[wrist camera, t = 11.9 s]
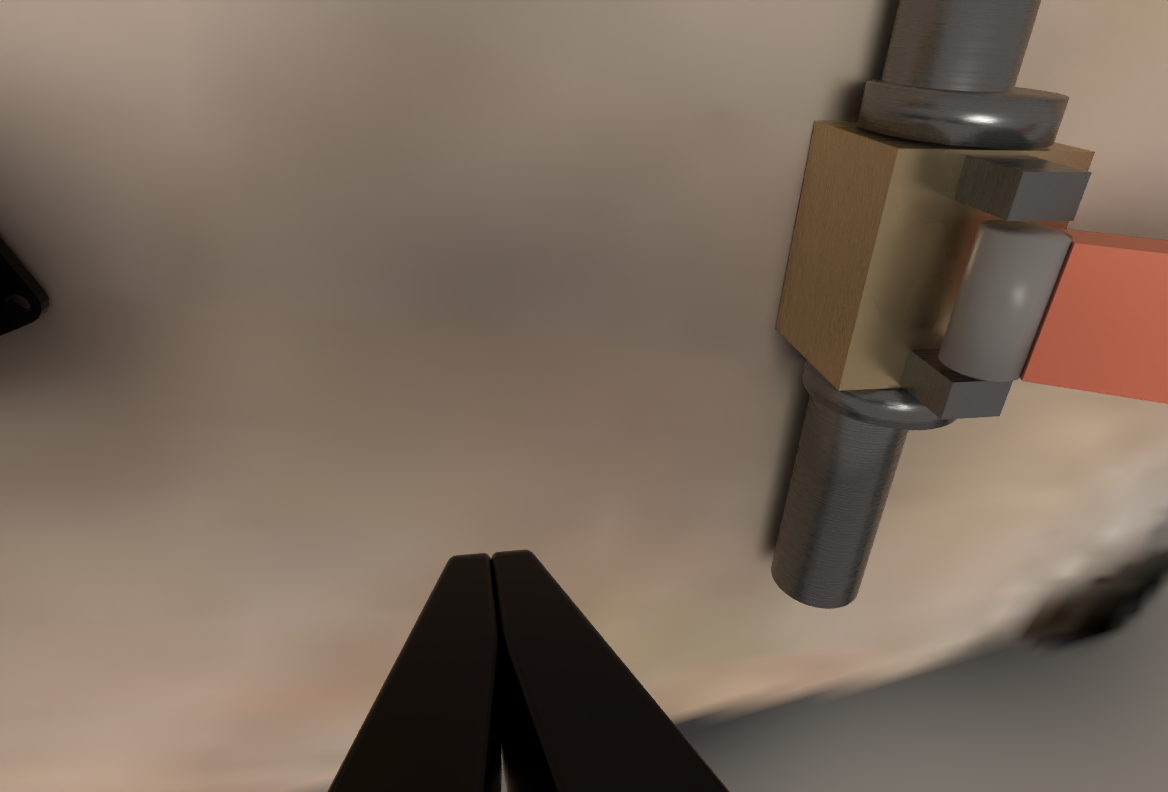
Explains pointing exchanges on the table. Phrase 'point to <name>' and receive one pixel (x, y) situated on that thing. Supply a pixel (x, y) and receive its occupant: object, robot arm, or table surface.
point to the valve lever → (1063, 310)
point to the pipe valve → (904, 264)
